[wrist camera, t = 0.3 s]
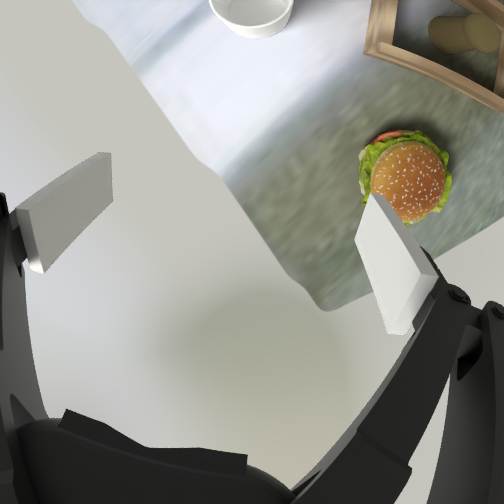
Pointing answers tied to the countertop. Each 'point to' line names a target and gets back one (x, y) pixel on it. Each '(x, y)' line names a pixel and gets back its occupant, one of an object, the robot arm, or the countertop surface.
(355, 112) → the countertop surface
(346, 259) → the countertop surface
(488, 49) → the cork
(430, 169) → the food
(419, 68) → the access box
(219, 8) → the mug
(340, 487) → the robot arm
